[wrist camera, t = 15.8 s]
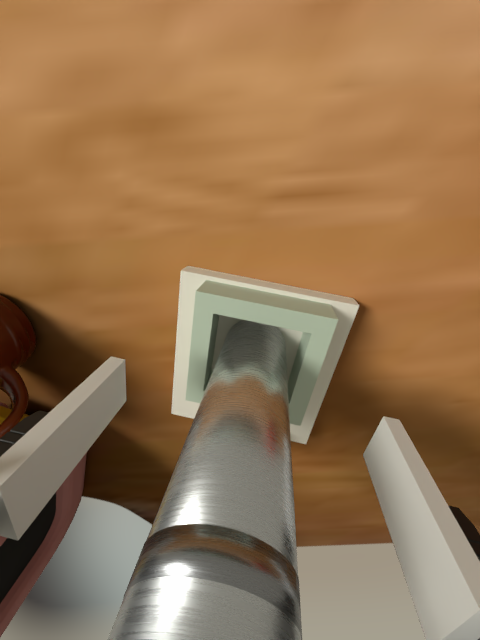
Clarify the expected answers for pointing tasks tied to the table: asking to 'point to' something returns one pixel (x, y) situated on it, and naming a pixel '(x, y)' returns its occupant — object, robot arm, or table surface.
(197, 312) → the dock
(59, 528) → the alarm clock
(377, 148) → the table surface
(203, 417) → the silver metal cylinder
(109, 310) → the table surface
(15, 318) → the mug
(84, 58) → the table surface
